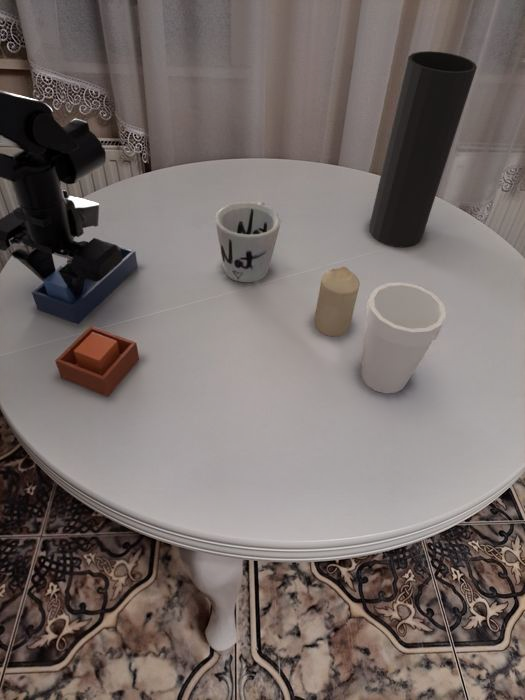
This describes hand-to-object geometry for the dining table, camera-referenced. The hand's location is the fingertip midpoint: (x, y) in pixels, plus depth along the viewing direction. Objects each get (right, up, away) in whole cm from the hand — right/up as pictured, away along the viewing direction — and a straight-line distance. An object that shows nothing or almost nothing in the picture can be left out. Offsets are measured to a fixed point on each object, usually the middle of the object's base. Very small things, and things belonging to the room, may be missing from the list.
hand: (67, 292), depth 77 cm
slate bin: (+2, +1, +5) cm, 6 cm away
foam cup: (+47, -12, -5) cm, 49 cm away
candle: (+40, -5, +2) cm, 41 cm away
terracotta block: (+7, -11, -7) cm, 15 cm away
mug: (+27, +7, +12) cm, 31 cm away
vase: (+55, +14, +22) cm, 61 cm away
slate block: (0, -1, +1) cm, 1 cm away
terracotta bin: (+7, -11, -7) cm, 15 cm away
